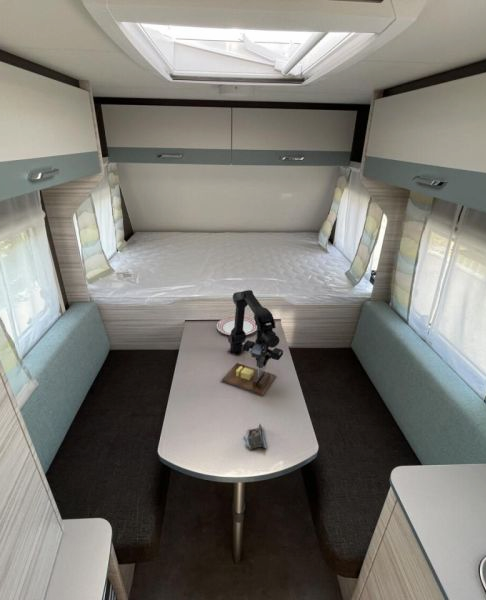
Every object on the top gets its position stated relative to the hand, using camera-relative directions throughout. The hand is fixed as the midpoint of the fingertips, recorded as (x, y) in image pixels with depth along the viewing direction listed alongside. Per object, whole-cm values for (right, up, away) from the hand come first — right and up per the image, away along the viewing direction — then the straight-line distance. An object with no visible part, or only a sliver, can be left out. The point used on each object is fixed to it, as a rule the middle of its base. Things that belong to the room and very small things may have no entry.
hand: (261, 364), depth 156 cm
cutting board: (-6, -9, +7) cm, 13 cm away
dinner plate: (-12, +12, +56) cm, 59 cm away
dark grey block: (0, -4, +2) cm, 4 cm away
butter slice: (-11, -6, +9) cm, 16 cm away
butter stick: (-7, -7, +7) cm, 12 cm away
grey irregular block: (-5, -24, -27) cm, 37 cm away
